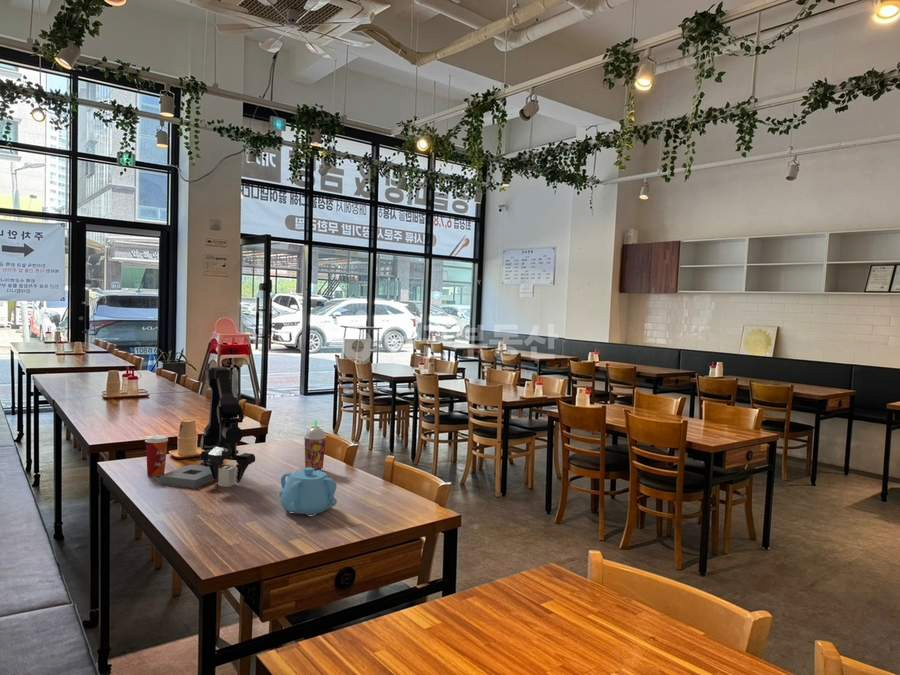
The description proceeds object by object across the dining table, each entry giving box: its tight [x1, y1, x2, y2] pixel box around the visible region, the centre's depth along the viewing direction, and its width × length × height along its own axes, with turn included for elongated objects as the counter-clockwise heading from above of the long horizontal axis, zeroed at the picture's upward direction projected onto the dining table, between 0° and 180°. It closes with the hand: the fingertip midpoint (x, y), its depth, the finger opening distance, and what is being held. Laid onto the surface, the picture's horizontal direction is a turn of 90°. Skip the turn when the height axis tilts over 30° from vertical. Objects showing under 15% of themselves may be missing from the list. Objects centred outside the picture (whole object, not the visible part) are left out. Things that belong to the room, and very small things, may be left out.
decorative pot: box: [279, 467, 338, 515], centre depth 192 cm, size 16×16×14 cm
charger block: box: [217, 465, 237, 488], centre depth 215 cm, size 4×4×6 cm
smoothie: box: [303, 419, 327, 471], centre depth 237 cm, size 8×8×20 cm
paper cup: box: [144, 434, 169, 477], centre depth 222 cm, size 8×8×14 cm
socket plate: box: [159, 464, 220, 489], centre depth 218 cm, size 16×14×3 cm
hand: (226, 480), depth 215 cm, fingers open, 9 cm apart
